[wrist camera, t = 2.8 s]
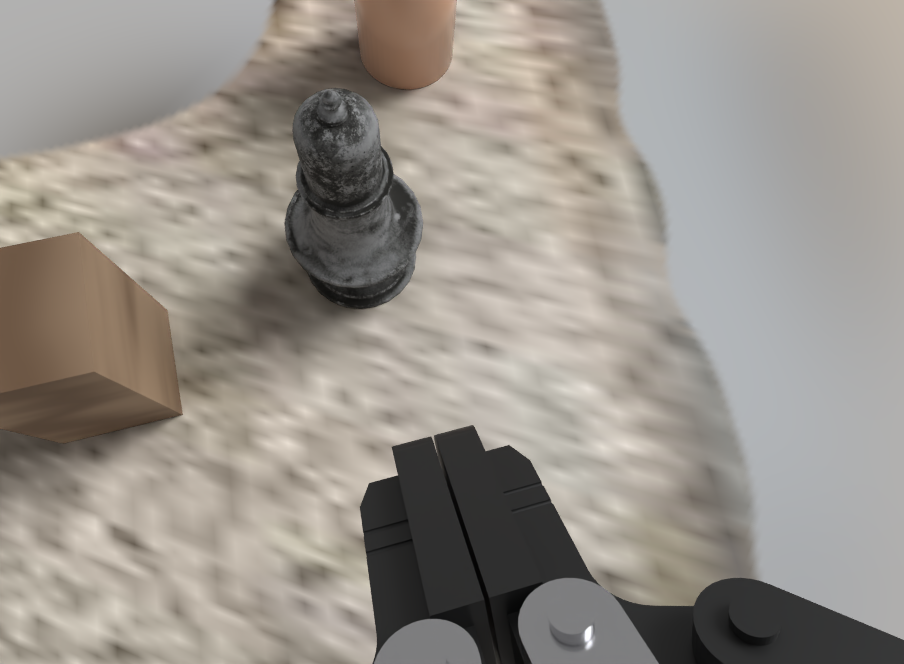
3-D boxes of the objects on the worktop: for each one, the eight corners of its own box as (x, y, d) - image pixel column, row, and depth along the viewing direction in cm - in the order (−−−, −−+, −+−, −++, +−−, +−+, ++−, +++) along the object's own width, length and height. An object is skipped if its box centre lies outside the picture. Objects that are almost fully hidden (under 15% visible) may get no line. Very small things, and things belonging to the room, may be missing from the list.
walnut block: (63, 443, 27) (-77, 410, 19) (53, 335, 28) (-81, 263, 20) (182, 414, 27) (94, 371, 20) (167, 310, 29) (78, 232, 21)
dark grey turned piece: (275, 278, 29) (187, 122, 18) (339, 183, 31) (296, -16, 20) (383, 336, 29) (364, 212, 17) (443, 235, 31) (461, 63, 19)
